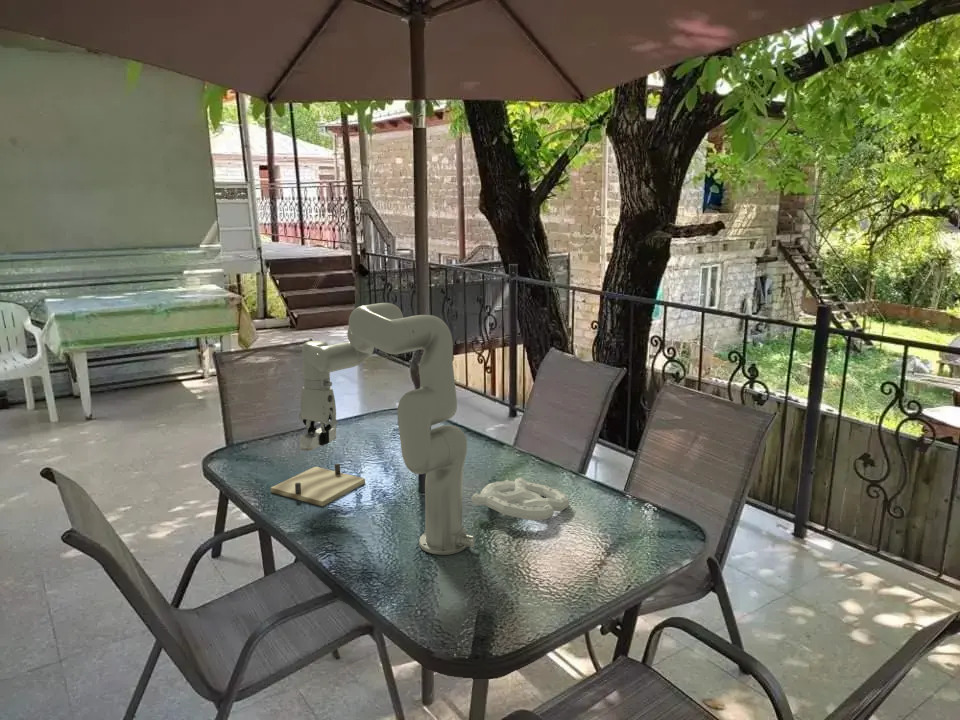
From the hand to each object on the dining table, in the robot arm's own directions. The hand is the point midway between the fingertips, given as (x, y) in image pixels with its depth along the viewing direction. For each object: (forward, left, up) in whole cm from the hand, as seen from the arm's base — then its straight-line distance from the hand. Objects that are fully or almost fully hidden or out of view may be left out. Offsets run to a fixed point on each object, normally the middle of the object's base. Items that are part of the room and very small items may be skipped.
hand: (318, 442), depth 209 cm
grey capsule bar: (0, 0, 0) cm, 0 cm away
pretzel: (-58, -20, -16) cm, 63 cm away
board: (+3, -2, -16) cm, 16 cm away
